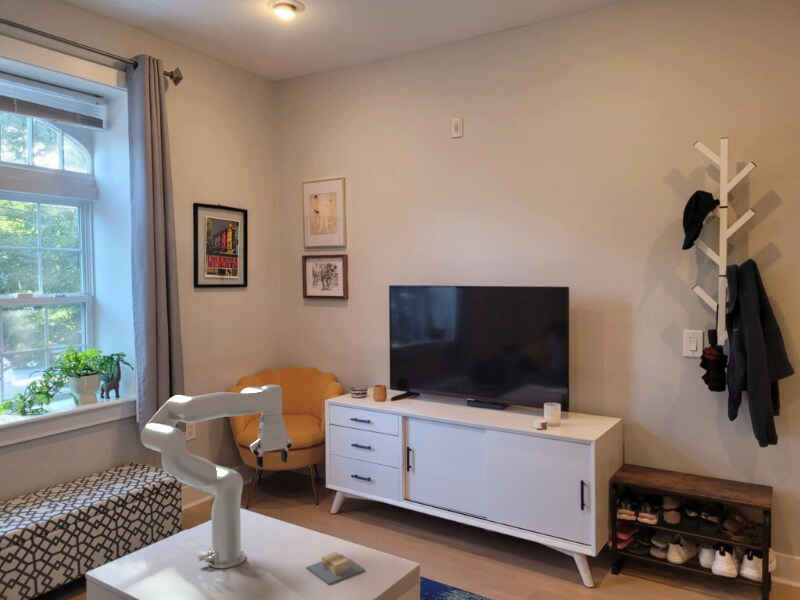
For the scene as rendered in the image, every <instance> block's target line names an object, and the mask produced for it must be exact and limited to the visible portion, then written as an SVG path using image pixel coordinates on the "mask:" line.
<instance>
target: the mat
mask: <svg viewBox="0 0 800 600" xmlns="http://www.w3.org/2000/svg"><path fill="white" fill-rule="evenodd" d="M340 555H342V556H343V557H345V558H346V559H348V560H349V570H347V571H345V572H342V573H340V574H337V575H334V574H333V573H331V572H330V571H328V570H327V569H325V568H324V567H323V566H322V560H321V561H318V562H316V563H313V564H311V565H307V566H306V567H305V568H306V570H308V571H309V572H311V573H312V574H313V575H314V576H316V577H317V578H318V579H320V580H321V581H323V582H324V583H325V584H327V585H329V586H330V585H334V584H335V583H338V582H340V581H343V580H346V579H348V578H351V577H353V576H356V575H358V574H360V573H363V572H366V569H365V568H364V567H362V566H361V565H359V564H357V563H356V562H355V561H352V560H351V559H349V558H348V557H346V556H345V555H343V554H340Z"/></svg>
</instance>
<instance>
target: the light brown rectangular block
mask: <svg viewBox="0 0 800 600" xmlns="http://www.w3.org/2000/svg"><path fill="white" fill-rule="evenodd" d="M342 555H343V554H342ZM342 555H341V554H340V553H338V552H337V551H334V552H332V553H329V554H326V555H323V556H321V561H322V566H323V567H324V568H325V569H327V570H328V571H330V572H331V573H333V574H334V575H337V574H340V573H342V572H345V571H347V570H349V560H350V559H349V558H348V559H349V560H348V559H346V558H347V557H346V556H345V557H346V558H345V557H343V556H344V555H343V556H342Z"/></svg>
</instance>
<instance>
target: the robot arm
mask: <svg viewBox="0 0 800 600" xmlns="http://www.w3.org/2000/svg"><path fill="white" fill-rule="evenodd" d="M282 393H283V391H282V386H281V385H278V384H265V385H263V386H247V387H246V388H243V389H242V390H241V391H240V392H232V391H217V392H213V393H212V392H211V393H206V394H201V395H195V396H189V395H184V394H177V395H173V396H172V397H170V398H169V399H168V400H167V401H166V402H165V403H164V404H162V406H161V407H160V408H159V409H158V411H156V413H154V415H153V416H152V417H151V418H150V419H149V421H148V422H147V423H146V424H145V426H144V427H143V428H142V430H141V434H140V441H141V443H142V445H143V446H144V447H145V448H147V449H150V450H153V451H156V452H158V453H161V463H162V464H161V465H162V467H163V470H164V472H166V473H167V475H169V476H172V477H174V478H175V479H176V481H178V482H179V483H182V484H185V485H187V486H188V487H192V488H195V489H197V490H199V491H203V492H206V493H208V494H211V495H214V496H215V498H214V500H213V504H212V508H211V547H210V548H209V549H208V551H207V552H206V553H205V554H199V555H197V561H198V562H203V561H204V563H207V564H208V566H209V567H211V568H215V569H229V568H233V567H236V566H238V565H240V564H242V563H244V562H245V560H246V552H245V551H244V550H242V540H241V539H242V534H241V531H242V530H241V529H242V527H241V526H242V525H241V499H242V493H243V488H244V487H243V486H244V480H243V477H242V475H241V474H240V473H239V471H236V470H235V469H232V468H229V467H226V466H221V465H218V464H216V463H213V462H212V461H211V460H209V459H207V458H206V457H202V456H200V455H199V456H198V455H195V454H193V453H191V452H189V451H188V450H187V444H186V442H187V441H186V437H185V434H184V432H183V431H182V430H181V429H179V428H178V427H176V426H177V425H178V423H179V422H180V423H186V424H195V423H200V422H206V421H209V420H214V419H220V418H223V417H226V418H227V417H237V416H246V415H247V416H248V415H255V414H259V413H261V414H260V416H259V417H258V418H257V420H258V422H260V423H259V426H258V431H257V440H255V441H253V442H252V443H251V444H250V445H249V448H250V450H251V452H252V453H253V455H255V456H256V465H257V467H259V468H261V469H262V468H263V467H264V457H263V455H264V452H271V451H272V452H273V451H276V450H280V449H281V451H280V458H281V459H280V460H281V462H284V463H287V462H288V452H289V449H290V448H291V446H292V444H293V442H294V438H293V437H291V436H289V435H287V428H286V424H285V420H283V395H282ZM256 447H257V448H258V449H257V448H256Z"/></svg>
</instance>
